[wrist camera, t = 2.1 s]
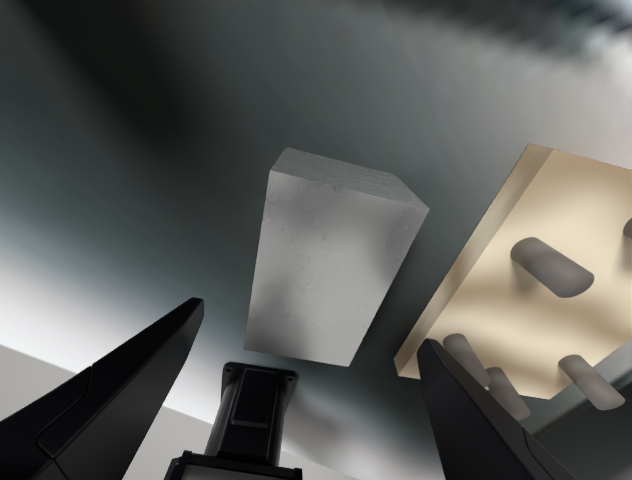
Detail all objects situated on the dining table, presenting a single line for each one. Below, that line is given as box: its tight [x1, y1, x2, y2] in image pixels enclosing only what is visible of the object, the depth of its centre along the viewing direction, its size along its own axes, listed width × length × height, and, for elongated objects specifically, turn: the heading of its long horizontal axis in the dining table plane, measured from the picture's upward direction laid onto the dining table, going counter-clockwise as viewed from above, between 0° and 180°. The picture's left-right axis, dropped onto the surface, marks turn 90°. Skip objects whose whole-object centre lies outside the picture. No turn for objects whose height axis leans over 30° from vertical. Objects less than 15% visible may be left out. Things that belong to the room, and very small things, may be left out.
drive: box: [244, 147, 429, 367], centre depth 13 cm, size 10×6×5 cm, turn 166°
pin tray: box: [394, 144, 632, 421], centre depth 15 cm, size 18×14×4 cm
